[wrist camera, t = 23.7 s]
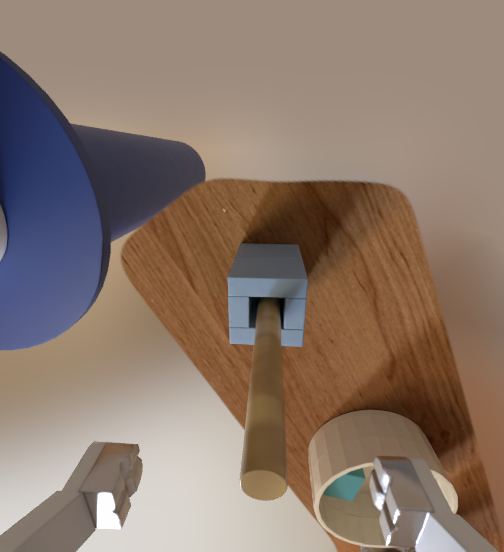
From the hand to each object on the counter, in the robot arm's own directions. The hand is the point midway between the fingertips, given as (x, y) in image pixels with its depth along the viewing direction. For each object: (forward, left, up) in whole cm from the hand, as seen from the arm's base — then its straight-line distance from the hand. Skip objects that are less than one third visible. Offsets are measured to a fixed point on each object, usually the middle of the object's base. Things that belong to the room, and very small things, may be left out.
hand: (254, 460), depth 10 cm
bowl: (+18, -19, -18) cm, 32 cm away
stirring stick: (0, 0, -14) cm, 14 cm away
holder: (0, 0, -18) cm, 18 cm away
